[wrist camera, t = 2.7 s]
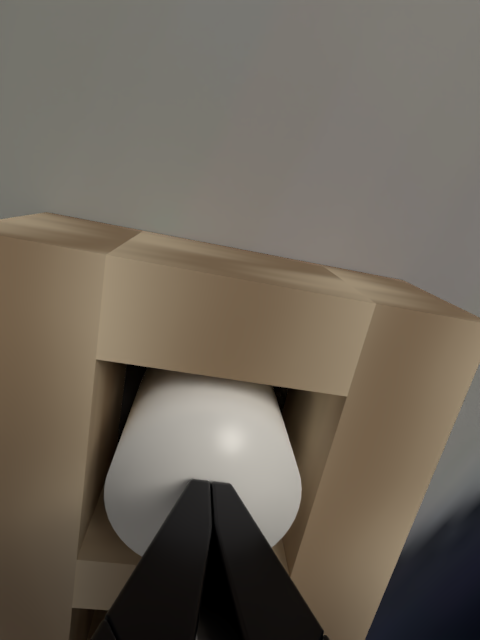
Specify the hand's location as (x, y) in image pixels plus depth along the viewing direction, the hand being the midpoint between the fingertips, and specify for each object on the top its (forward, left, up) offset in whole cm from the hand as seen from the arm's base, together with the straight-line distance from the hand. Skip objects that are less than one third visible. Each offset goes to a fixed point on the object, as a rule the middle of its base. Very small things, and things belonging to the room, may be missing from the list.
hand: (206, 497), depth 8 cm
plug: (0, 0, -4) cm, 4 cm away
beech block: (0, +6, -4) cm, 8 cm away
